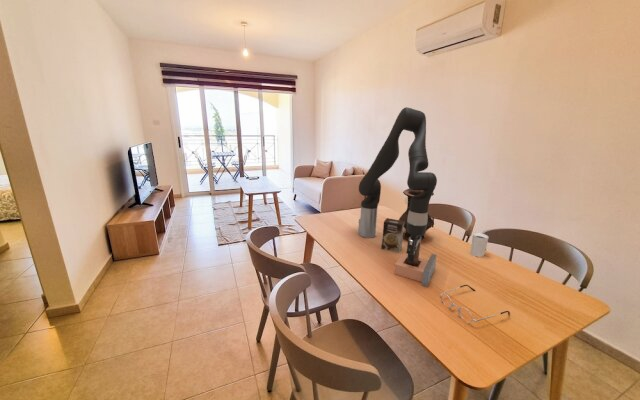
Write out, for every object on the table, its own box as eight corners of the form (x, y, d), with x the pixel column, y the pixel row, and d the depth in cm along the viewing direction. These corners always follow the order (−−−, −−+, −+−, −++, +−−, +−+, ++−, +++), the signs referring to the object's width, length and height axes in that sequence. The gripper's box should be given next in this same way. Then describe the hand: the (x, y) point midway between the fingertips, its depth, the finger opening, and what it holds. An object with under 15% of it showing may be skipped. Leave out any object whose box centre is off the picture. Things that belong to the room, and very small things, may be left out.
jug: (437, 244, 140) (445, 190, 132) (402, 243, 141) (408, 189, 132) (423, 229, 161) (429, 181, 152) (393, 229, 161) (397, 181, 153)
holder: (393, 273, 110) (394, 264, 109) (401, 262, 119) (402, 253, 118) (422, 282, 104) (423, 272, 103) (428, 269, 113) (429, 260, 112)
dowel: (405, 270, 111) (407, 244, 107) (407, 265, 114) (410, 240, 111) (415, 273, 108) (418, 246, 105) (418, 268, 112) (421, 242, 109)
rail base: (373, 273, 113) (374, 256, 110) (385, 257, 126) (386, 242, 123) (432, 291, 100) (434, 273, 98) (439, 272, 113) (441, 256, 111)
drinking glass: (487, 258, 126) (491, 239, 123) (472, 256, 127) (475, 237, 125) (481, 251, 132) (485, 233, 130) (467, 250, 134) (470, 232, 131)
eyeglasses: (434, 300, 96) (436, 288, 95) (472, 289, 102) (474, 278, 101) (473, 331, 82) (475, 317, 80) (513, 316, 88) (516, 304, 87)
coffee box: (380, 251, 132) (383, 221, 128) (384, 246, 138) (386, 217, 133) (399, 255, 128) (402, 224, 124) (401, 250, 134) (404, 220, 129)
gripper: (412, 214, 113) (408, 249, 117) (402, 224, 101) (398, 262, 106) (430, 218, 109) (425, 253, 113) (422, 229, 97) (418, 267, 102)
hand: (412, 257), depth 110 cm, fingers open, 8 cm apart
